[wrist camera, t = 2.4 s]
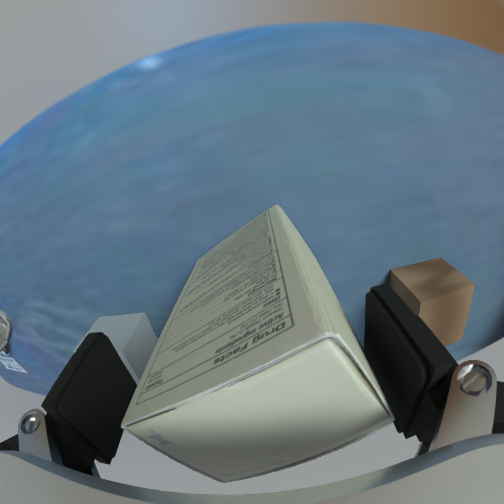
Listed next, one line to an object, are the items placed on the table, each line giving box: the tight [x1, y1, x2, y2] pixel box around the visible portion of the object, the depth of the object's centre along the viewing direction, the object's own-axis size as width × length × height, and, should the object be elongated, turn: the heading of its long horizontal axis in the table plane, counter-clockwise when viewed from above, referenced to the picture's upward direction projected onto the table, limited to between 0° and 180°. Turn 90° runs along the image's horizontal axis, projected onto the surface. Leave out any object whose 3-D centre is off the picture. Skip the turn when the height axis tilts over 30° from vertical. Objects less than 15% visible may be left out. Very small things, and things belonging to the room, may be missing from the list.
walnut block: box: [390, 258, 475, 347], centre depth 15 cm, size 4×4×4 cm
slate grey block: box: [73, 313, 158, 386], centre depth 17 cm, size 4×4×4 cm
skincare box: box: [121, 205, 395, 483], centre depth 11 cm, size 6×4×12 cm
